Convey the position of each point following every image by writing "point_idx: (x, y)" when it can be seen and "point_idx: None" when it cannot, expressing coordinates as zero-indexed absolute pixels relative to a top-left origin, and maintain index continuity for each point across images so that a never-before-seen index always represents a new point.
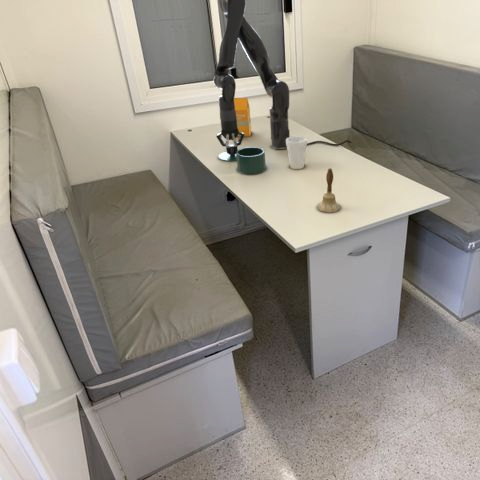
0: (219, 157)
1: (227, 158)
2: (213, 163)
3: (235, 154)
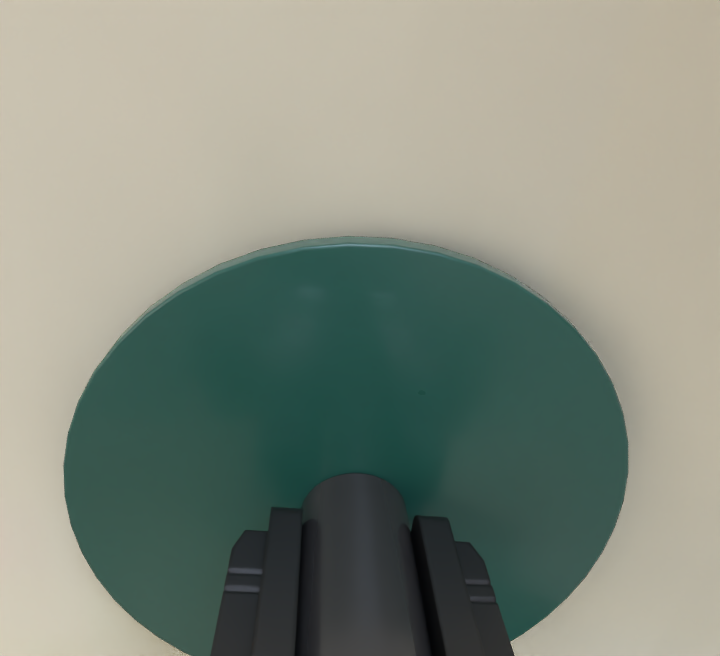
0: (89, 550)
1: None
2: (9, 613)
3: (416, 488)
